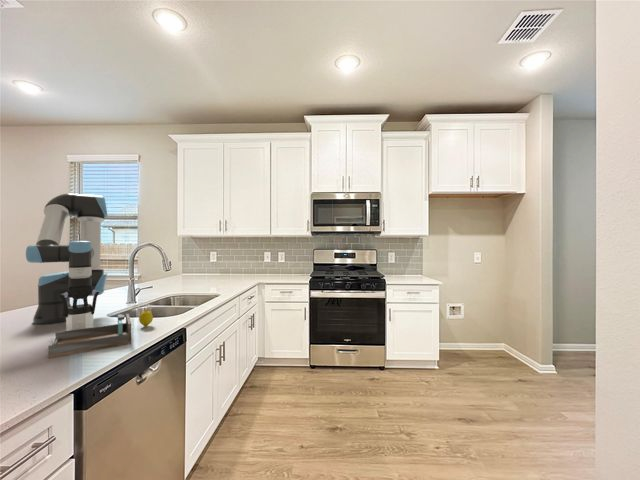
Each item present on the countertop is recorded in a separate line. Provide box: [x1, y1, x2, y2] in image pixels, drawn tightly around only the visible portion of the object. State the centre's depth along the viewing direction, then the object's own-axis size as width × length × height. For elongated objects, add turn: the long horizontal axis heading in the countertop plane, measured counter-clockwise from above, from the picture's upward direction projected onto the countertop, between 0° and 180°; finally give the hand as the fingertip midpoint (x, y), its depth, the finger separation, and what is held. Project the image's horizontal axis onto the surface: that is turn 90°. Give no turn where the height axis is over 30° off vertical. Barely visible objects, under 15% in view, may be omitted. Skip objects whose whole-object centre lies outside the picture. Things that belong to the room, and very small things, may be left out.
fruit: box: [138, 309, 154, 328], centre depth 136 cm, size 6×6×8 cm
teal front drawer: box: [47, 313, 132, 359], centre depth 115 cm, size 18×24×8 cm
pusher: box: [117, 314, 125, 335], centre depth 120 cm, size 15×2×8 cm, turn 36°
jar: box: [65, 303, 94, 331], centre depth 125 cm, size 9×8×12 cm
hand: (80, 331), depth 125 cm, fingers open, 2 cm apart
